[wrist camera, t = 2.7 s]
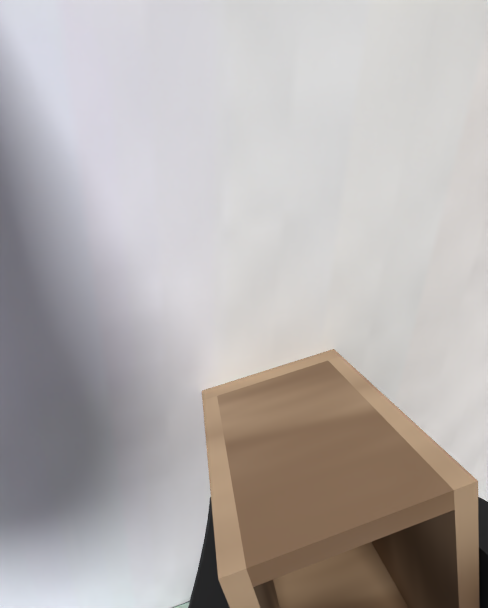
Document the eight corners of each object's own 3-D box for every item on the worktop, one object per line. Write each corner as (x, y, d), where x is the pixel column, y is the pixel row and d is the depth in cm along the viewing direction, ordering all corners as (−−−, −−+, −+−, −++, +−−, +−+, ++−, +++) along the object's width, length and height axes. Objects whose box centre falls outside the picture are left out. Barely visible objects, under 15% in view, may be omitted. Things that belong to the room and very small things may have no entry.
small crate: (360, 506, 14) (480, 707, 8) (253, 546, 13) (303, 788, 8) (333, 348, 12) (478, 480, 6) (201, 390, 11) (218, 579, 5)
